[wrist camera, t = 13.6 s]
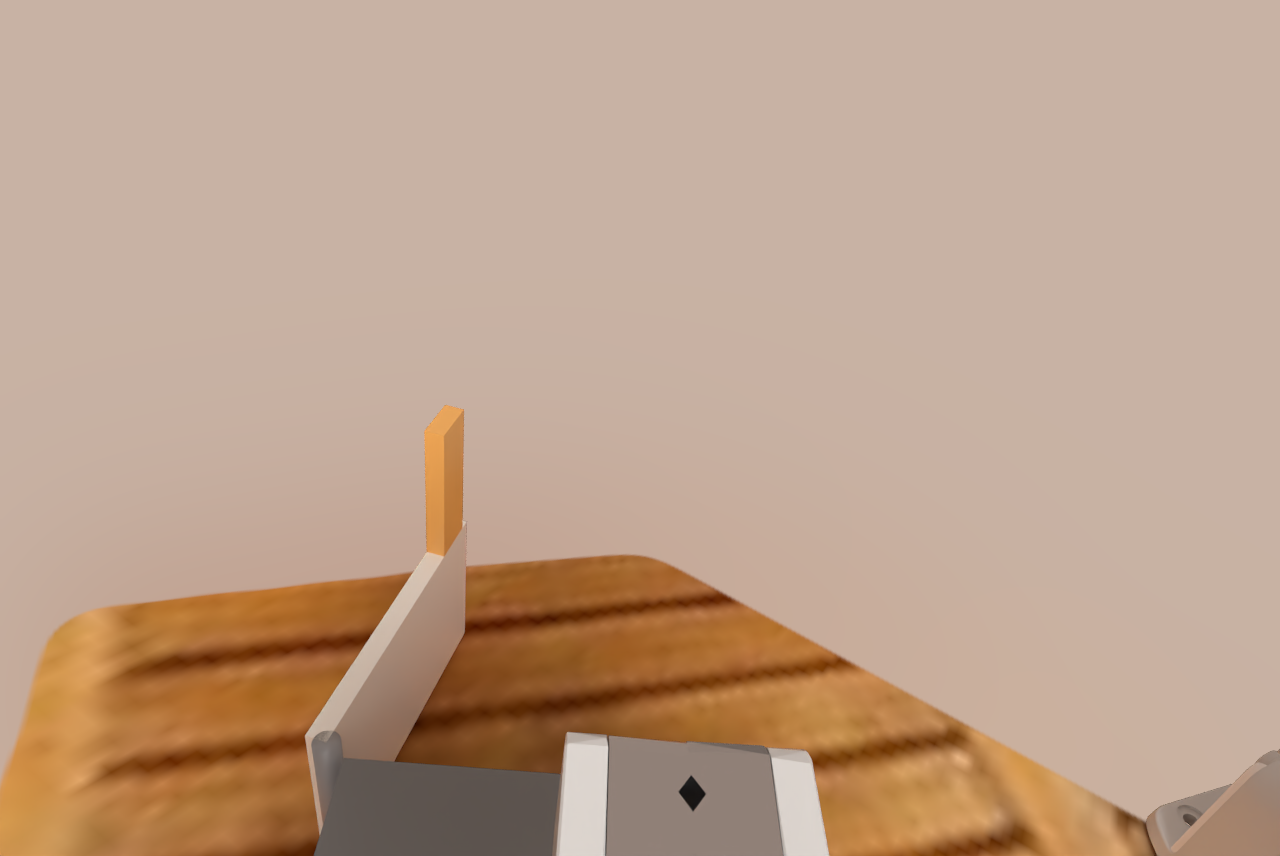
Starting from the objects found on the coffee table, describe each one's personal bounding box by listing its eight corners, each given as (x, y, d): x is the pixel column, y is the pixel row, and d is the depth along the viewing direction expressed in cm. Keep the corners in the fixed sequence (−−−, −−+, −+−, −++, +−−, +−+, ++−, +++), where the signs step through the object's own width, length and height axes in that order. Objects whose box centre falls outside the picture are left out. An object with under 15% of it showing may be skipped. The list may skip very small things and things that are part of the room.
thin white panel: (473, 635, 55) (479, 406, 45) (346, 873, 43) (316, 628, 33) (449, 628, 56) (450, 398, 46) (315, 862, 43) (276, 616, 33)
